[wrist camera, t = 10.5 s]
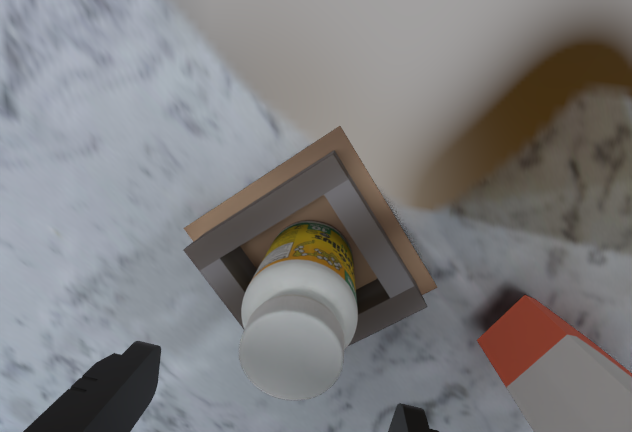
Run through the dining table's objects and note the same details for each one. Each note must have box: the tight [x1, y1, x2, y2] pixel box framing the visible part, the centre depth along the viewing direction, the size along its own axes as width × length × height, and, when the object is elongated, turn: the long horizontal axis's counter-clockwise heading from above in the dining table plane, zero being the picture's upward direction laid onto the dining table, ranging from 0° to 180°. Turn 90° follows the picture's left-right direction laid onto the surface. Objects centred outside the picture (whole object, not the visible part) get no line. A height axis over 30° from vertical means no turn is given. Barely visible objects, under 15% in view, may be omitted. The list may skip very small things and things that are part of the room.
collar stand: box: [184, 126, 437, 346], centre depth 21 cm, size 12×12×4 cm
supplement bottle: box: [239, 221, 358, 401], centre depth 17 cm, size 5×5×10 cm
